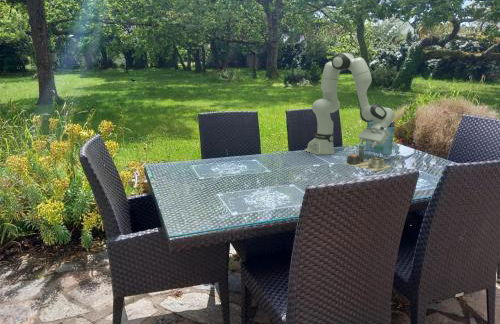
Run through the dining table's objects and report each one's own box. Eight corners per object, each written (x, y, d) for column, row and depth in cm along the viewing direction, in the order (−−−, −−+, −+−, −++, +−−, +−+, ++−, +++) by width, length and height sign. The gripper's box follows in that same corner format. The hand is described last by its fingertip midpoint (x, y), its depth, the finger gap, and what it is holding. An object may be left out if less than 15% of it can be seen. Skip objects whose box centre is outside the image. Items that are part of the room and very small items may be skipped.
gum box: (365, 150, 307) (366, 119, 302) (369, 149, 311) (371, 118, 305) (388, 154, 293) (390, 122, 287) (392, 153, 296) (394, 121, 290)
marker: (357, 161, 271) (357, 144, 269) (360, 160, 274) (361, 143, 271) (361, 162, 269) (362, 145, 266) (364, 161, 271) (365, 144, 268)
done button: (349, 157, 266) (349, 154, 265) (353, 156, 268) (353, 153, 268) (354, 159, 263) (354, 155, 262) (358, 158, 265) (358, 154, 265)
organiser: (342, 165, 266) (343, 155, 264) (358, 160, 277) (359, 151, 275) (375, 172, 248) (376, 162, 247) (391, 167, 259) (392, 158, 258)
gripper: (363, 124, 280) (352, 140, 278) (387, 128, 263) (375, 145, 261) (368, 130, 284) (356, 146, 281) (392, 135, 266) (380, 151, 264)
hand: (366, 146), depth 271 cm, fingers open, 8 cm apart
